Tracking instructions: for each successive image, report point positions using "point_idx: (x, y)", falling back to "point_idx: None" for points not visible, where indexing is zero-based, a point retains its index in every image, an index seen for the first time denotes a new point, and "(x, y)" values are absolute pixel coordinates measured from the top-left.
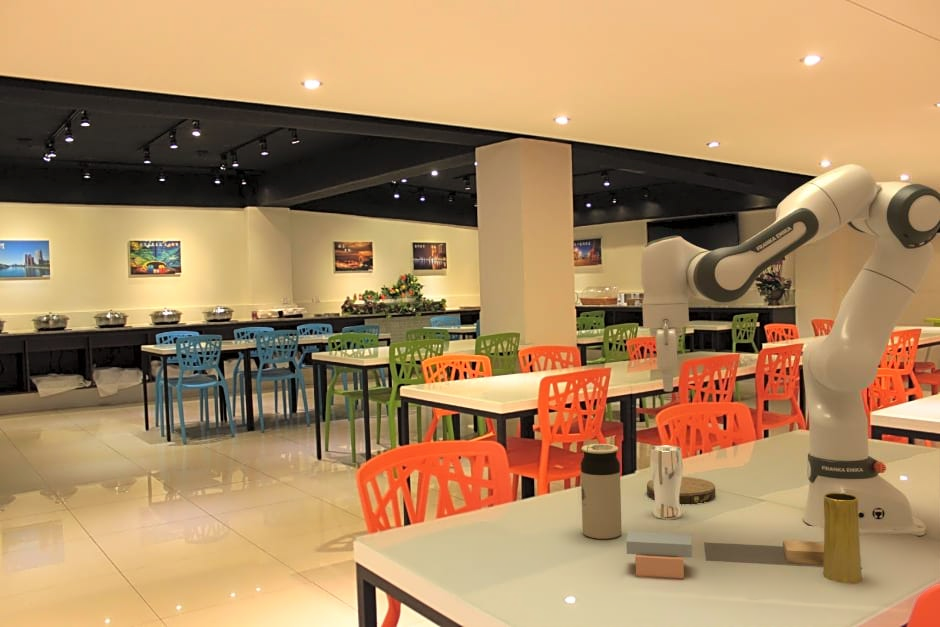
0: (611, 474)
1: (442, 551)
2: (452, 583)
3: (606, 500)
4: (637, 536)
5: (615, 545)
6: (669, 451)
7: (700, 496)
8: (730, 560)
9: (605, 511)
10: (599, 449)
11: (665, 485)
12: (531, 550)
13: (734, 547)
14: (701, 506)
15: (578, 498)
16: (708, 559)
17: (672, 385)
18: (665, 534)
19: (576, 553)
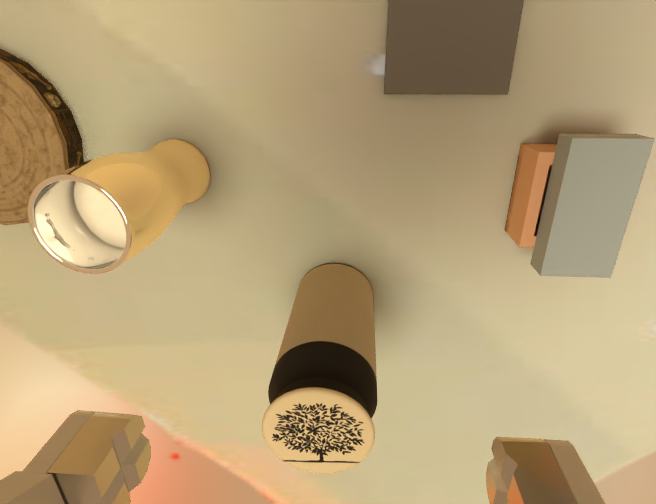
0: (365, 359)
1: (451, 494)
2: (586, 468)
3: (372, 331)
4: (577, 256)
5: (401, 271)
6: (125, 216)
7: (40, 88)
8: (510, 34)
9: (373, 319)
10: (349, 436)
11: (179, 197)
12: (439, 394)
13: (415, 17)
14: (76, 86)
15: (116, 345)
16: (502, 88)
17: (593, 484)
18: (567, 197)
19: (451, 331)
